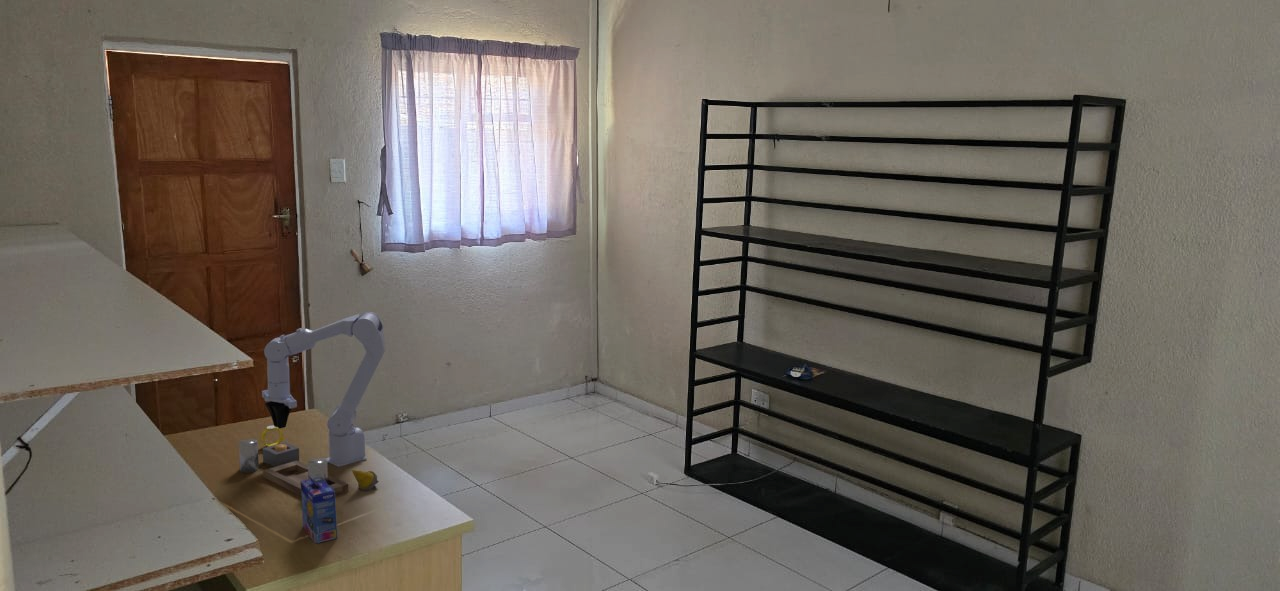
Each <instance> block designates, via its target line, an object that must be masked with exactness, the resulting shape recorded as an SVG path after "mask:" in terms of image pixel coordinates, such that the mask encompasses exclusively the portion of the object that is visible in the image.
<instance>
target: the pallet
mask: <svg viewBox="0 0 1280 591" xmlns="http://www.w3.org/2000/svg"><path fill="white" fill-rule="evenodd" d="M262 474H263V478H264V479H265V480H268V481H270V482H272V483H274V484H276V485H277V486H279V487H282V488H284V489H286V490H288V491H290V492H292V493H294V494H296V495H298V496H300V497H302V495H301V482H302V481H305V480H308V464H305V463H303V462H301V461H300V460H299V461H293V462H290V463H287V464H283V465H280V466H276V467H273V466H272V467H269V468H266V469H263V473H262ZM328 485H329V486H331V487H332V488H333V489H334V490H335V497H336V496H339V495H342V494H344V493H348V492H349V483H347V482H345V481H344V480H340V479H338V478H336V477H334V476H332V475H330V474H328Z"/></svg>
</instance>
